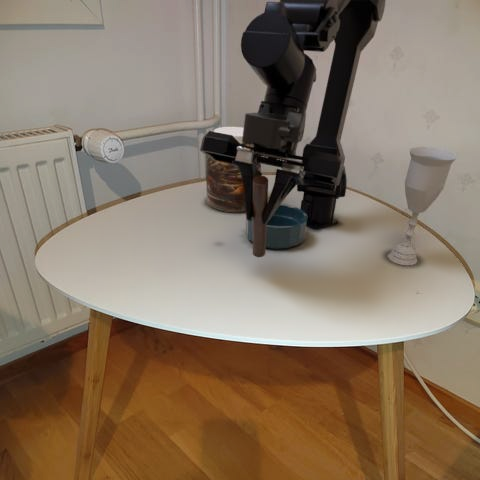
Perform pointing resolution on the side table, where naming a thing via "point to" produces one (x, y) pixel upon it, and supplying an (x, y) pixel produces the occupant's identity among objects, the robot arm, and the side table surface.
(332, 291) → the side table surface
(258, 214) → the stick
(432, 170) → the chalice
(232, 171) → the jar
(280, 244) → the bowl
